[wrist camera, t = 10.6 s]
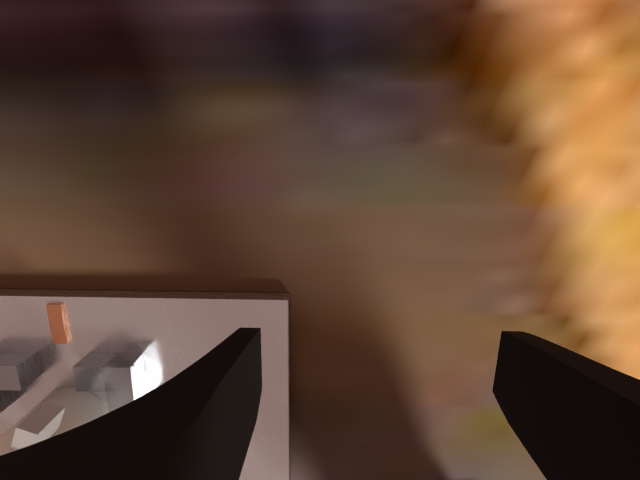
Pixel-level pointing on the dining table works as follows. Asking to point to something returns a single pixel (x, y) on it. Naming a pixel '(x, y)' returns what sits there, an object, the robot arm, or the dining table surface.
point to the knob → (53, 418)
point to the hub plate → (141, 352)
